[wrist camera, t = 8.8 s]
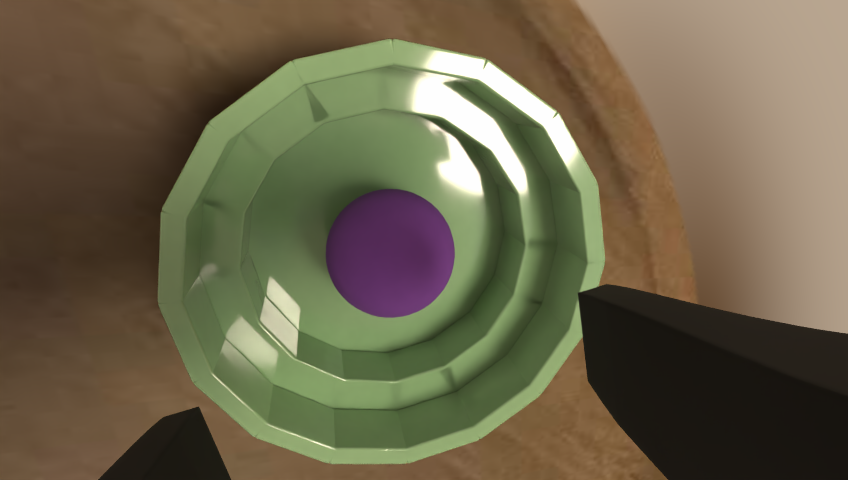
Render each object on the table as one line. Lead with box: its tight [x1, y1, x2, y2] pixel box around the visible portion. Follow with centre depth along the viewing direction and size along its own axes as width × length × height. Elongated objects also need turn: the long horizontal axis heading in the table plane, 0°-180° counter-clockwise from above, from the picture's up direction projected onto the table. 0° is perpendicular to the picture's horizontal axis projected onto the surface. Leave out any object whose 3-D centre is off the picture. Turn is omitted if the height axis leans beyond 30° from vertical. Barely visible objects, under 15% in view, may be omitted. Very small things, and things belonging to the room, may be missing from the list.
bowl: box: [157, 39, 605, 464], centre depth 16 cm, size 12×12×4 cm
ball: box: [326, 189, 455, 318], centre depth 15 cm, size 4×4×4 cm
